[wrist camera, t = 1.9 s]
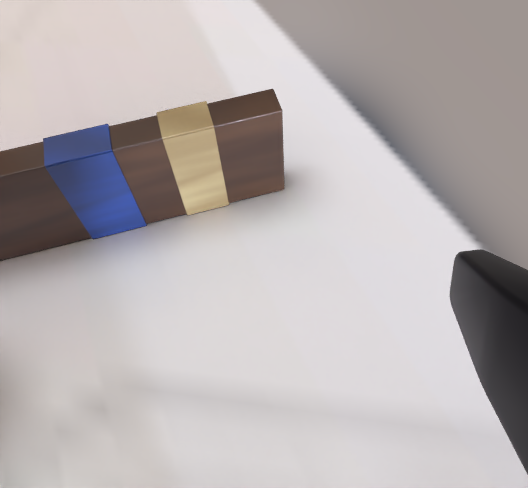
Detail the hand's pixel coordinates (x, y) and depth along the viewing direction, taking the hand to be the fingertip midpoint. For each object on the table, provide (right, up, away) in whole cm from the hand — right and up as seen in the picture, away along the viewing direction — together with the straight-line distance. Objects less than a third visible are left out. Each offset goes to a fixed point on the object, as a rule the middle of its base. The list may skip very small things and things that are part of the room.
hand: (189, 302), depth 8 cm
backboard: (-7, +4, +20) cm, 22 cm away
